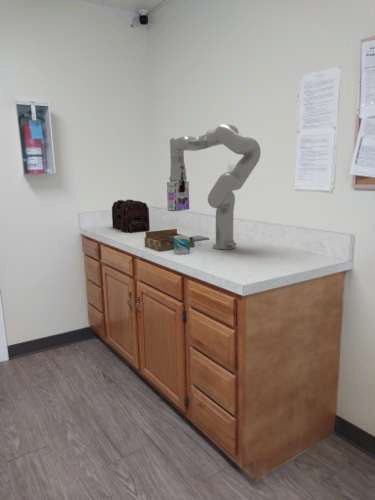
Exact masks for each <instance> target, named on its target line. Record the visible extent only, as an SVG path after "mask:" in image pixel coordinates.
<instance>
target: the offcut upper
mask: <svg viewBox="0 0 375 500" xmlns="http://www.w3.org/2000/svg"><path fill="white" fill-rule="evenodd" d="M182 235H183V234H181V235H176V236H182ZM174 237H175V236H168V237H167V238H168V243H170V244H172V243H174Z"/></svg>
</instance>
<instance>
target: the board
mask: <svg viewBox="0 0 375 500" xmlns="http://www.w3.org/2000/svg"><path fill="white" fill-rule="evenodd" d="M190 237H193V238H194V242H200V241H207V240H210V237H207V236H202V235H191V236H190Z"/></svg>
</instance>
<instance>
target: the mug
mask: <svg viewBox="0 0 375 500" xmlns="http://www.w3.org/2000/svg"><path fill="white" fill-rule="evenodd" d="M190 237H191V236H190V235H185V236H175V237H174V254H175V253H176V255H188V254H190V253H191V252H190V250H191V249H190V248H191V247H190ZM187 253H188V254H187Z"/></svg>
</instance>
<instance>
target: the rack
mask: <svg viewBox="0 0 375 500" xmlns="http://www.w3.org/2000/svg"><path fill="white" fill-rule="evenodd" d="M176 235H182V236H186V235H184V234H180V233H178V229H177V228H171V229H162V230H151V231H148V232H145V237H143V238H144V247H147V248H148V249H152V250H154V251H157V252H165V251H166V250H167V251H173V249H174V244H168V245H166V243H168V238H167V237H168V236H176ZM189 237H190V248H194V247H195V241H194V238H193V237H191V236H189Z"/></svg>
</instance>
